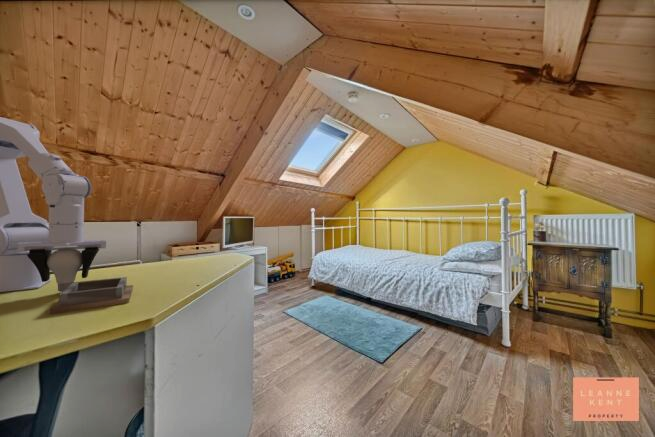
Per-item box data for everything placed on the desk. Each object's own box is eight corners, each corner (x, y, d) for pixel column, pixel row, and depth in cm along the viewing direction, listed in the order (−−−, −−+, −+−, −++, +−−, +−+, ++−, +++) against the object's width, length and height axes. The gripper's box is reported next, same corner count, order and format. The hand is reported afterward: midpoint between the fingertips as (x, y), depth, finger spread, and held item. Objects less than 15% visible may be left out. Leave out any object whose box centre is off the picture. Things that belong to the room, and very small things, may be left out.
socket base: (66, 296, 55) (66, 282, 55) (132, 288, 62) (133, 275, 62) (49, 314, 46) (49, 296, 46) (128, 302, 53) (129, 287, 53)
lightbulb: (58, 298, 54) (59, 250, 53) (39, 295, 55) (39, 249, 55) (90, 289, 60) (90, 247, 59) (72, 287, 61) (72, 245, 61)
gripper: (10, 224, 49) (10, 287, 50) (104, 224, 58) (103, 278, 58) (26, 222, 55) (25, 279, 55) (109, 223, 64) (108, 272, 64)
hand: (65, 278), depth 57 cm, fingers closed on lightbulb, 6 cm apart
